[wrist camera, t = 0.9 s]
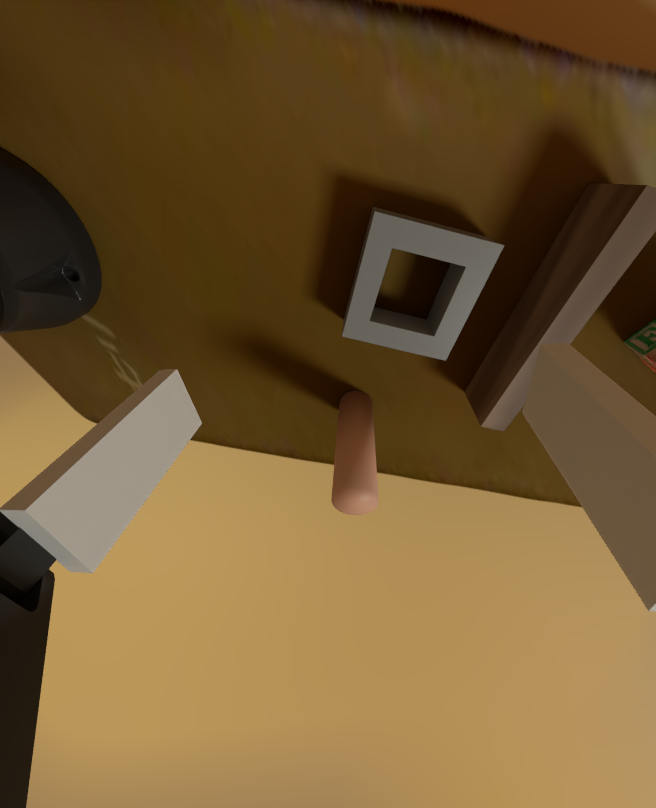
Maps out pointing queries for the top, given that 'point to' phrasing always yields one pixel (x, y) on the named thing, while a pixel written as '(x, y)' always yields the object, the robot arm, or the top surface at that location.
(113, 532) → the robot arm
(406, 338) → the grey square frame
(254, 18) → the top surface
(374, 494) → the dowel
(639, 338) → the stack of blocks
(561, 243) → the wall
